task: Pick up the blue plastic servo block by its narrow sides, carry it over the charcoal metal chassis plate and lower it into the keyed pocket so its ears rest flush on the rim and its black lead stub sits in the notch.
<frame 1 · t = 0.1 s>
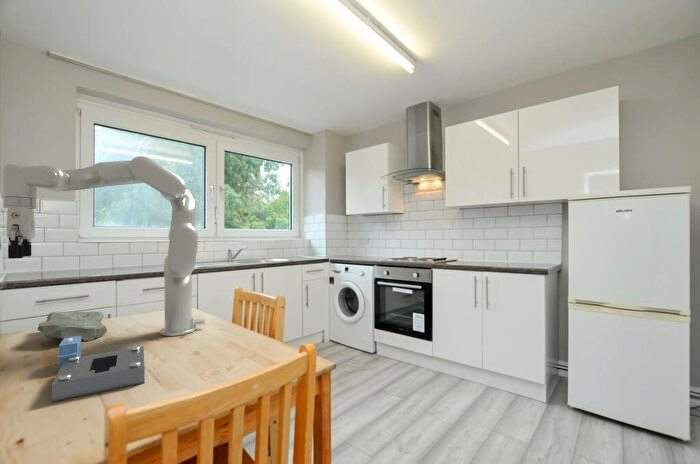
hand: (20, 257, 105), 31 cm above the table, tool pointing down, fingers open, 9 cm apart
servo: (70, 366, 96), on the table
chassis: (104, 378, 88), on the table
stone: (73, 336, 125), on the table
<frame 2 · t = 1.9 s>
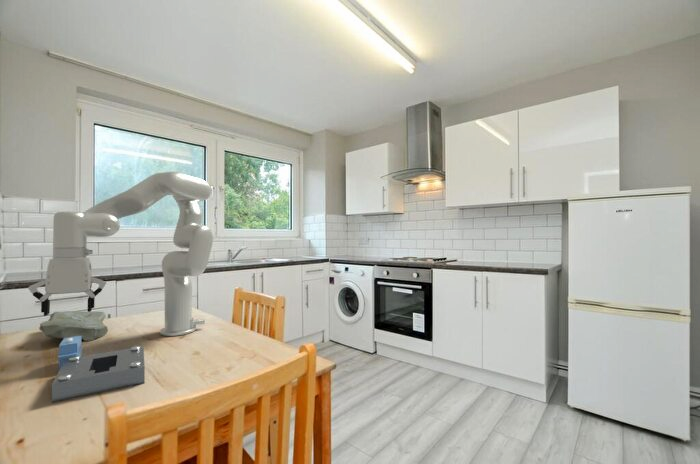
hand: (68, 312, 96), 16 cm above the table, tool pointing down, fingers open, 9 cm apart
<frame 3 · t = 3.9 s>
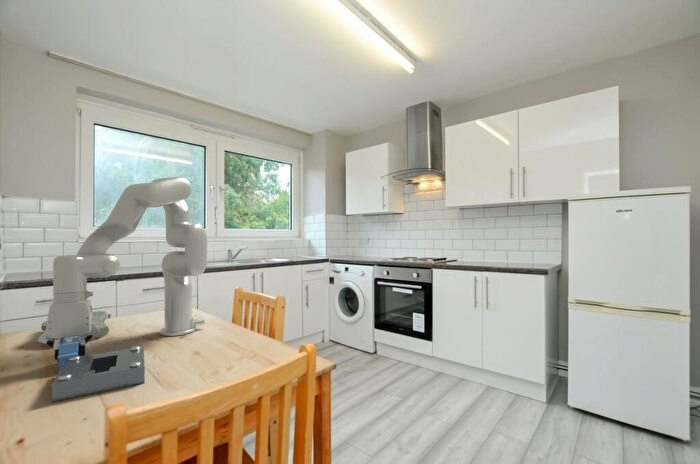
hand: (70, 359, 96), 2 cm above the table, tool pointing down, fingers closed on servo, 4 cm apart
servo: (70, 365, 96), on the table, touching gripper
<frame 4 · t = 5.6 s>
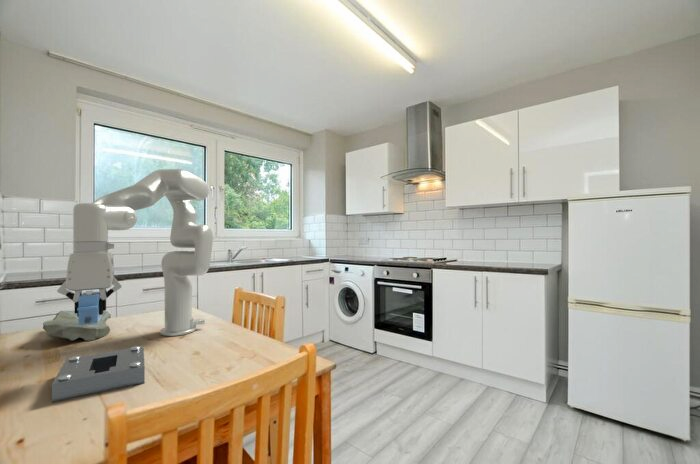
hand: (90, 314, 91), 17 cm above the table, tool pointing down, fingers closed on servo, 4 cm apart
servo: (90, 321, 91), point 15 cm above the table, touching gripper
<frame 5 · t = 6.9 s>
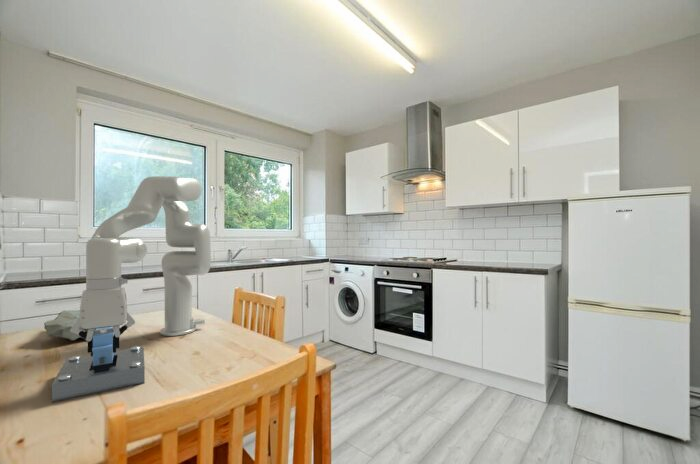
hand: (103, 352, 88), 7 cm above the table, tool pointing down, fingers closed on servo, 4 cm apart
servo: (103, 359, 88), point 5 cm above the table, touching gripper
when the fingers open (5 cm above the table, at t = 7.6 s): servo drops 3 cm, resting on chassis.
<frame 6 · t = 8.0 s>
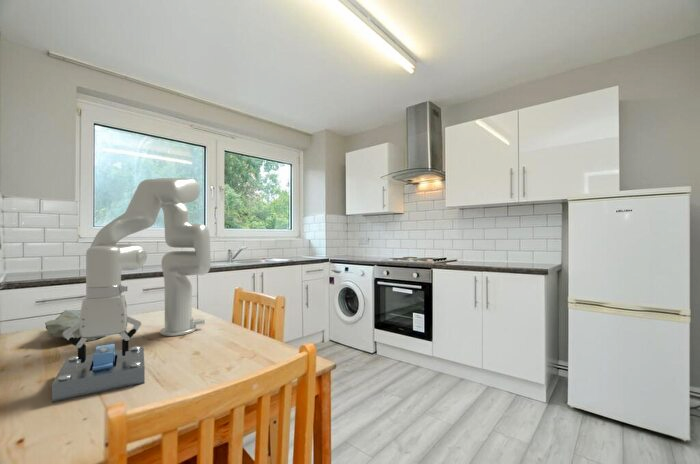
hand: (104, 357, 88), 6 cm above the table, tool pointing down, fingers open, 8 cm apart
servo: (104, 377, 88), resting on chassis
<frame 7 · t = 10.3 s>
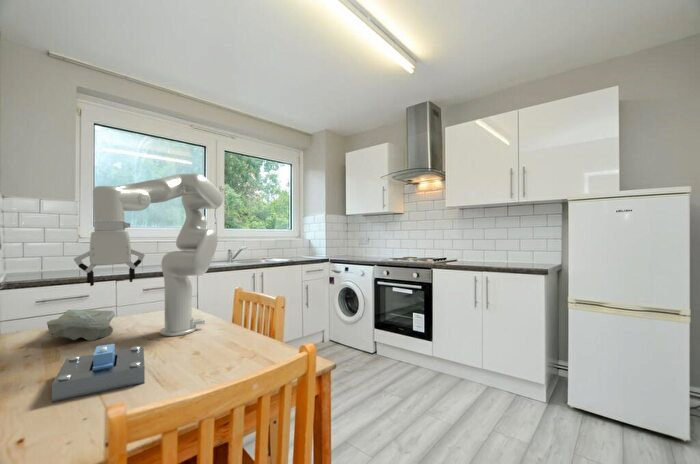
hand: (112, 283, 100), 24 cm above the table, tool pointing down, fingers open, 9 cm apart
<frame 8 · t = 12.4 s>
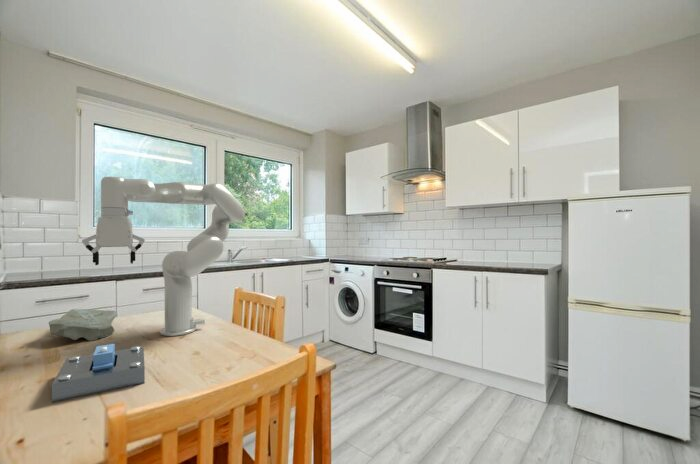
hand: (114, 264, 112), 28 cm above the table, tool pointing down, fingers open, 9 cm apart
at the end: servo 0.1 cm off-centre on the chassis, point 0.3 cm above the chassis's base; servo tilted 0°; the gripper is holding nothing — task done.
